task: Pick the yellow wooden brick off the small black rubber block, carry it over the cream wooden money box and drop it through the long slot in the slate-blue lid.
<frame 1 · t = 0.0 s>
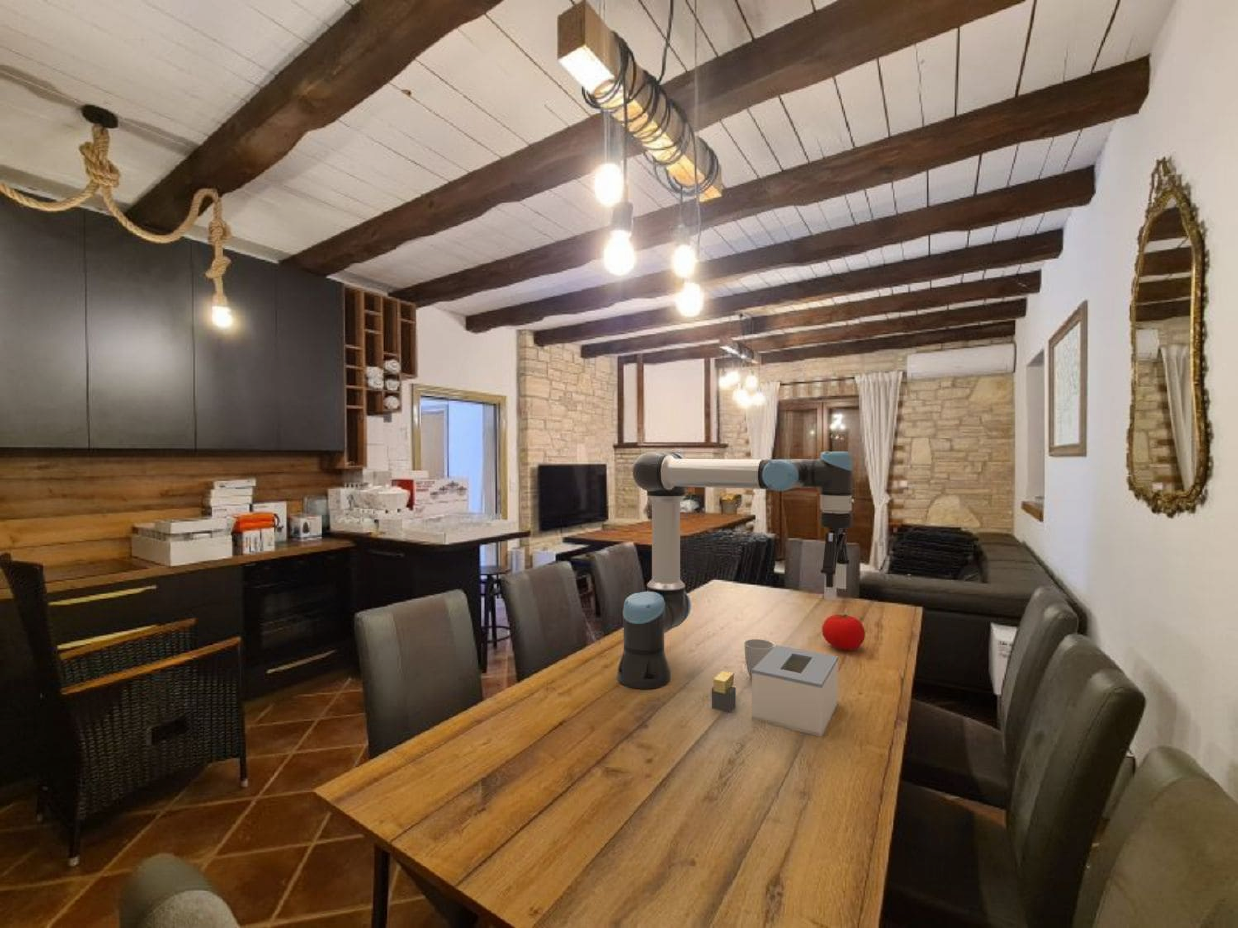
hand: (835, 593, 140), 28 cm above the table, fingers open, 13 cm apart
cup: (758, 679, 154), on the table
tomato: (843, 648, 179), on the table
block: (723, 707, 137), on the table
money box: (796, 710, 135), on the table
yellow wooden brick: (723, 687, 137), point 5 cm above the table, touching block
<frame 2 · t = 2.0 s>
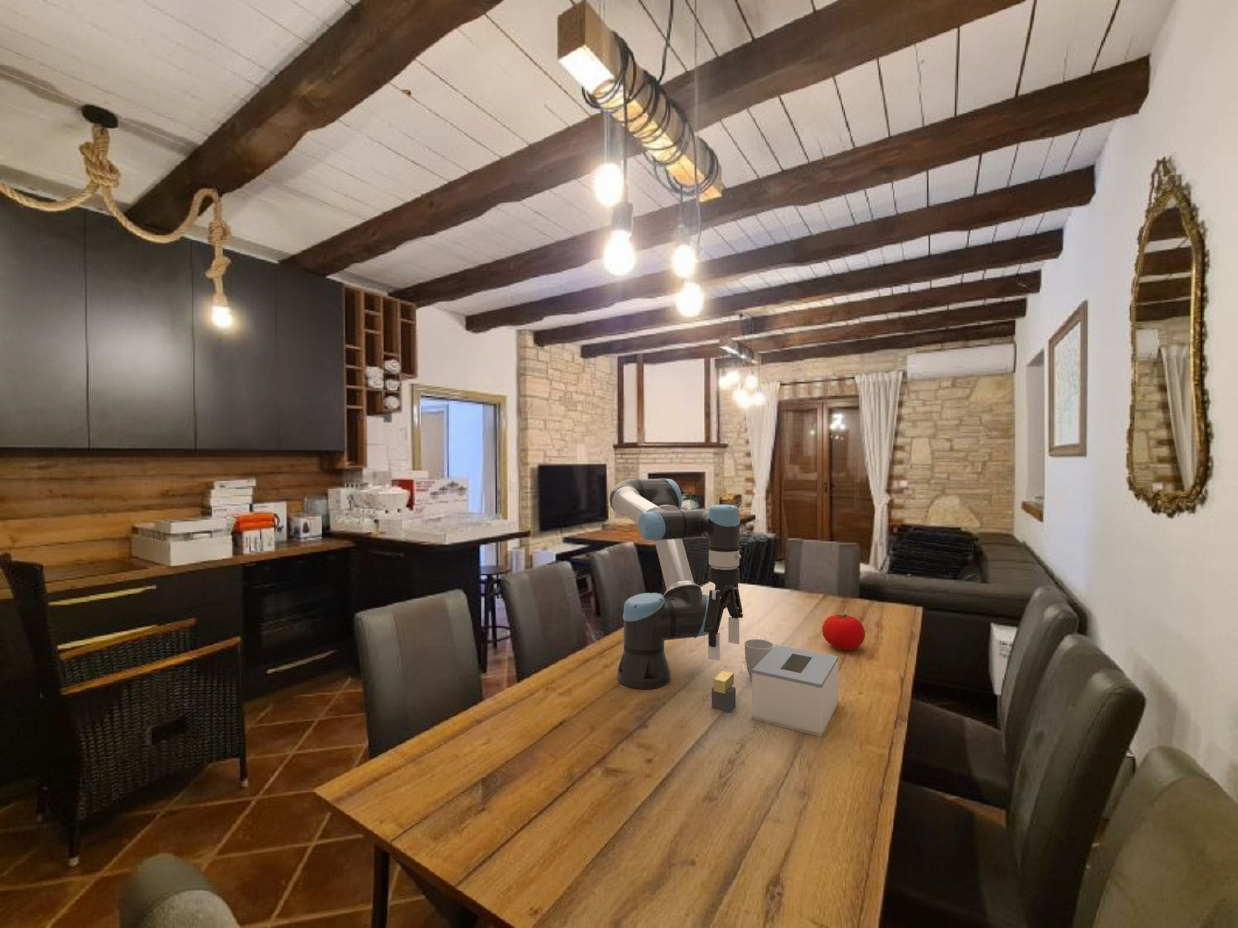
hand: (724, 650, 136), 14 cm above the table, fingers open, 13 cm apart
nothing on the table moved.
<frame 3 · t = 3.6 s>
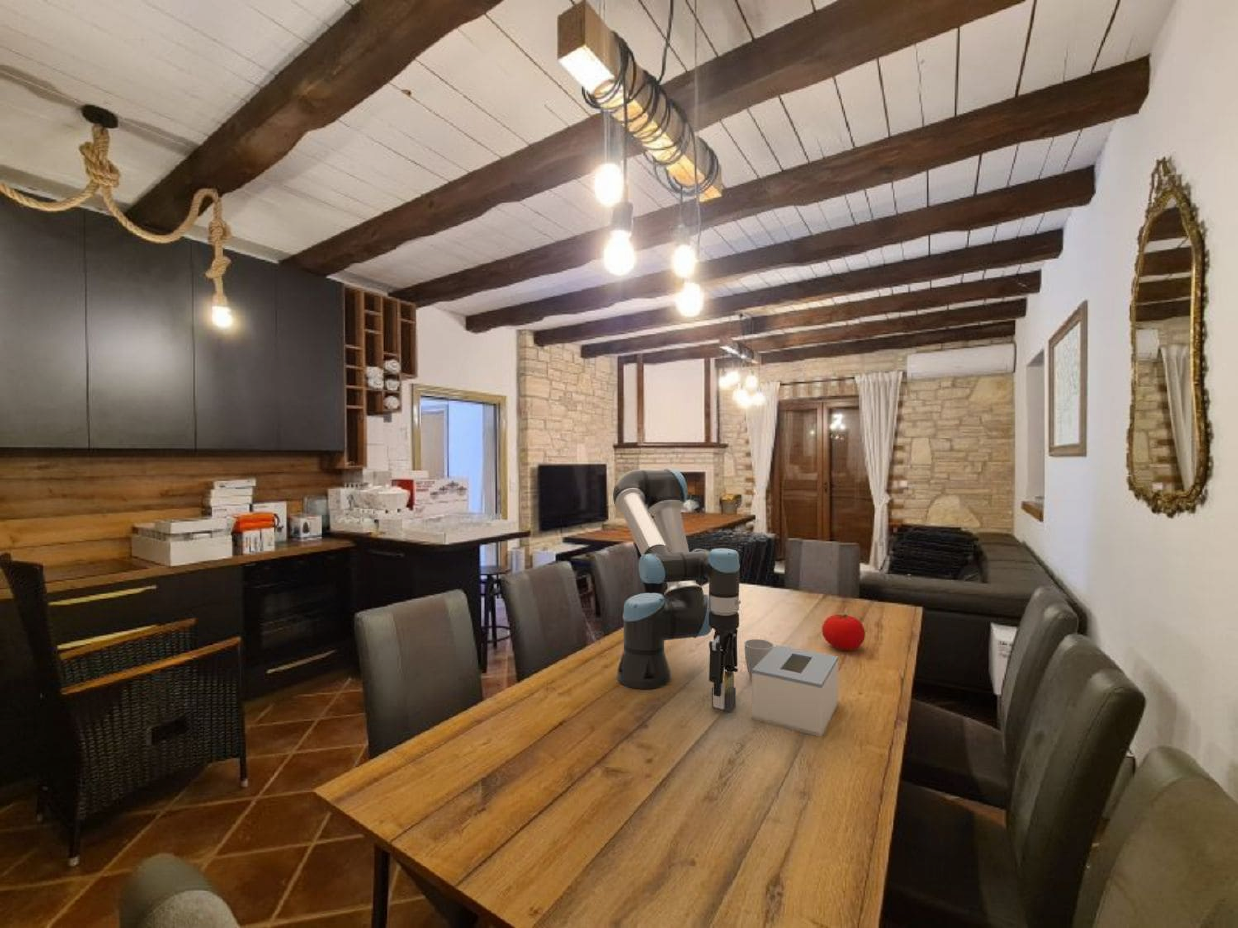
hand: (723, 701, 137), 1 cm above the table, fingers closed on yellow wooden brick, 6 cm apart
yellow wooden brick: (723, 687, 137), point 5 cm above the table, touching block, gripper
everything else where it was.
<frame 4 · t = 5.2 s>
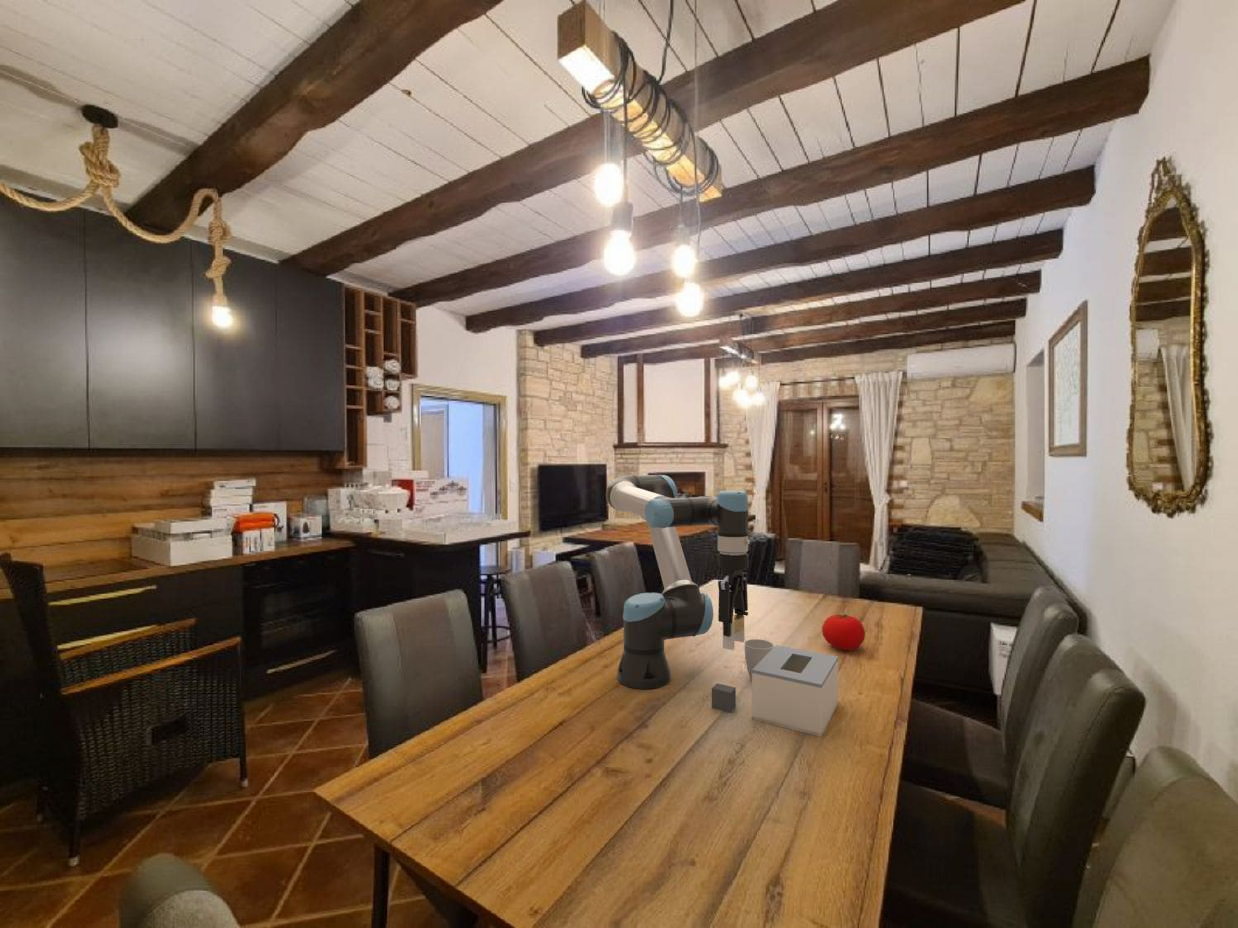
hand: (733, 644, 136), 16 cm above the table, fingers closed on yellow wooden brick, 6 cm apart
yellow wooden brick: (733, 630, 136), point 20 cm above the table, touching gripper
everything else where it was.
when the fingers open (12 cm above the table, at t = 7.0 s): yellow wooden brick drops 15 cm, resting on money box.
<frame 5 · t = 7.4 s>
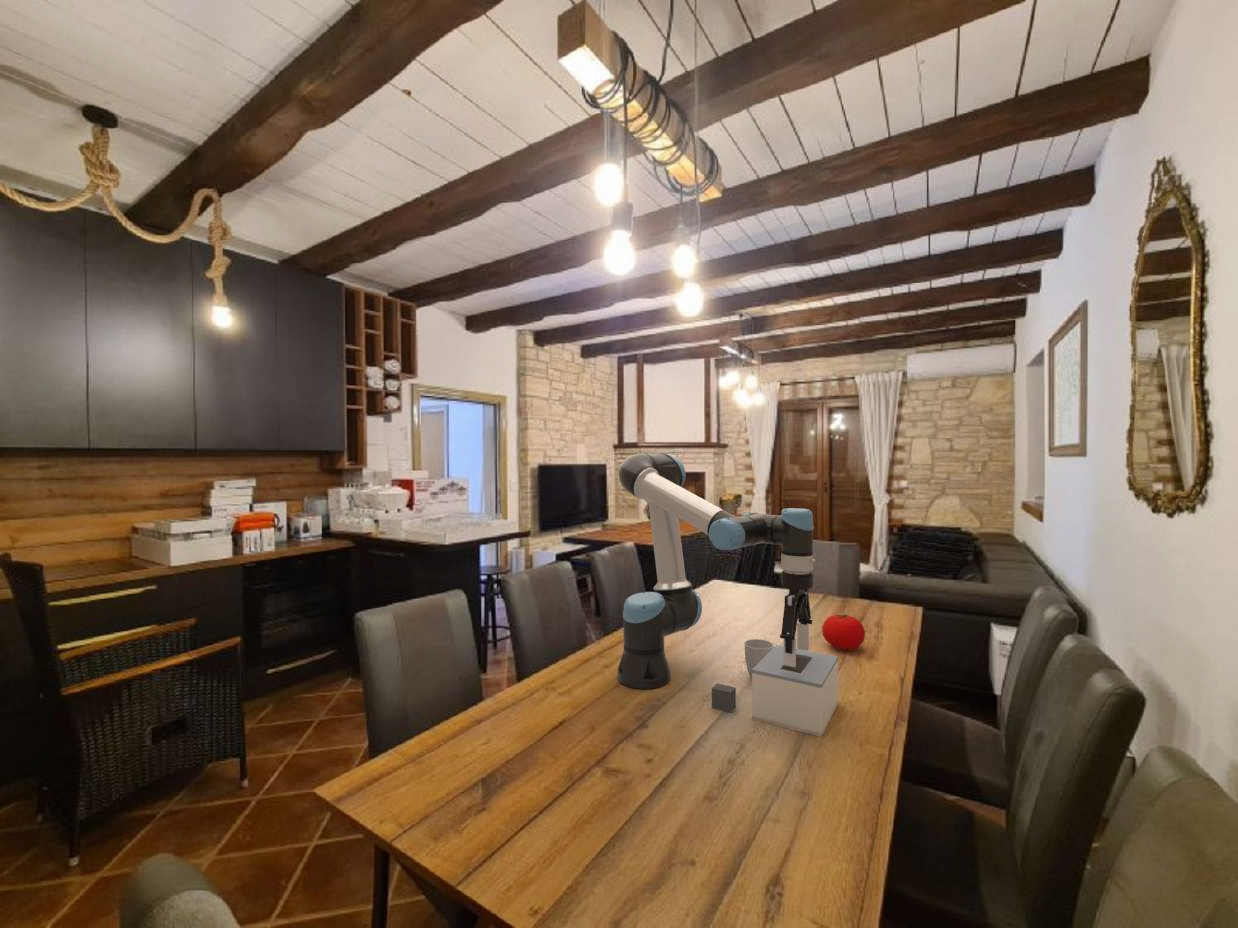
hand: (796, 657, 135), 13 cm above the table, fingers open, 12 cm apart
yellow wooden brick: (796, 707, 135), point 1 cm above the table, touching money box
everything else where it was.
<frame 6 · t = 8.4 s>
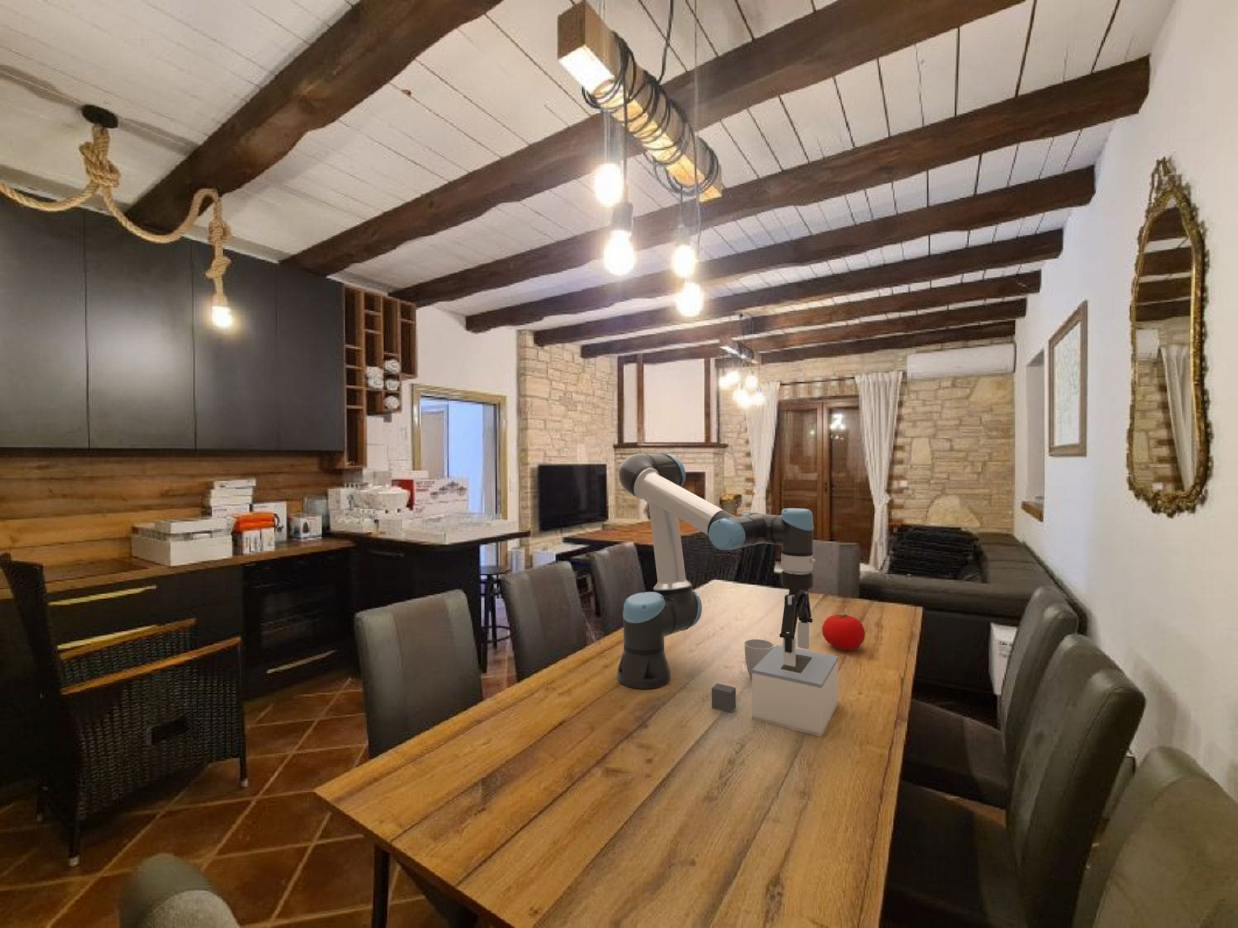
hand: (796, 656, 135), 14 cm above the table, fingers open, 13 cm apart
nothing on the table moved.
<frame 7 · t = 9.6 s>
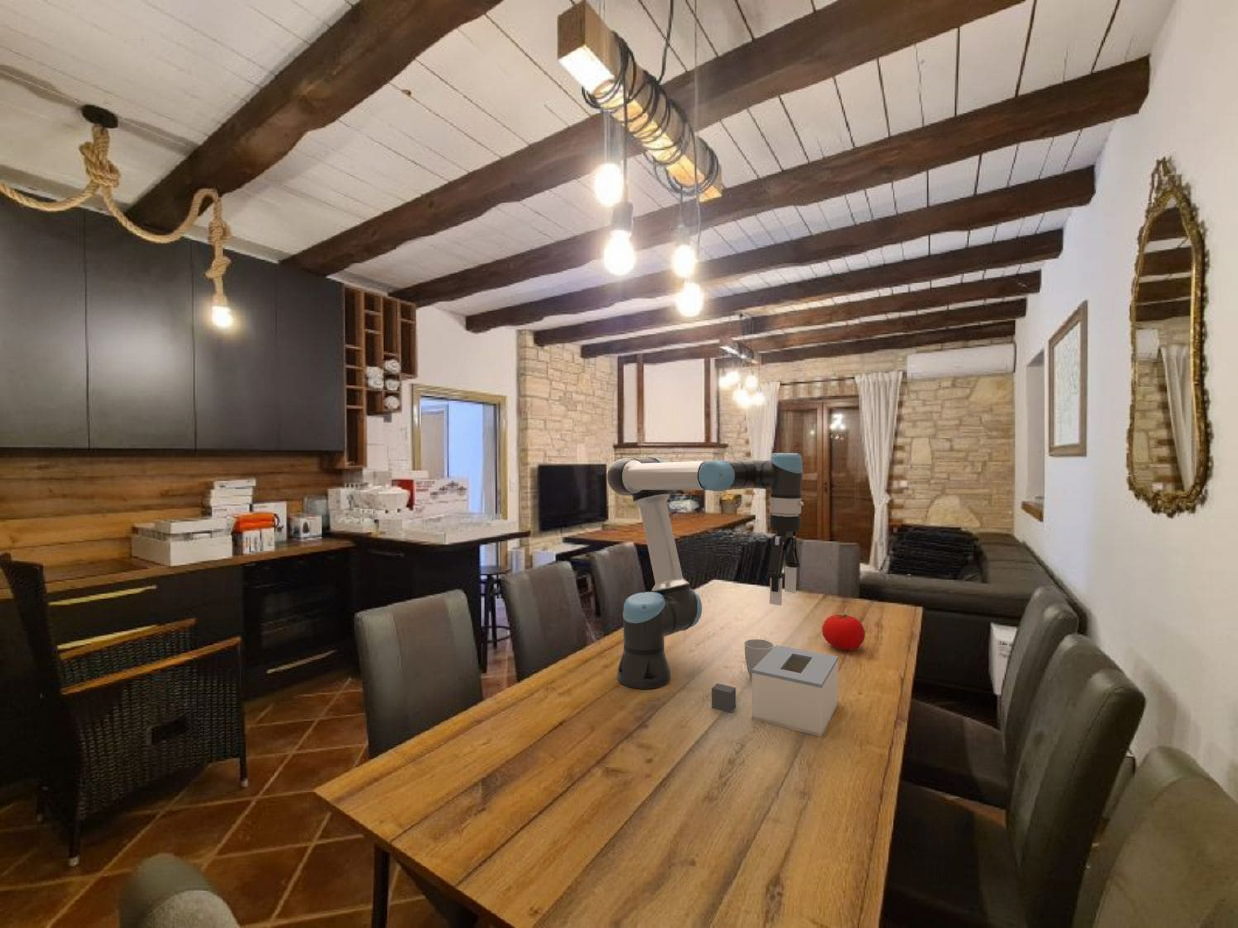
hand: (783, 597, 137), 28 cm above the table, fingers open, 13 cm apart
nothing on the table moved.
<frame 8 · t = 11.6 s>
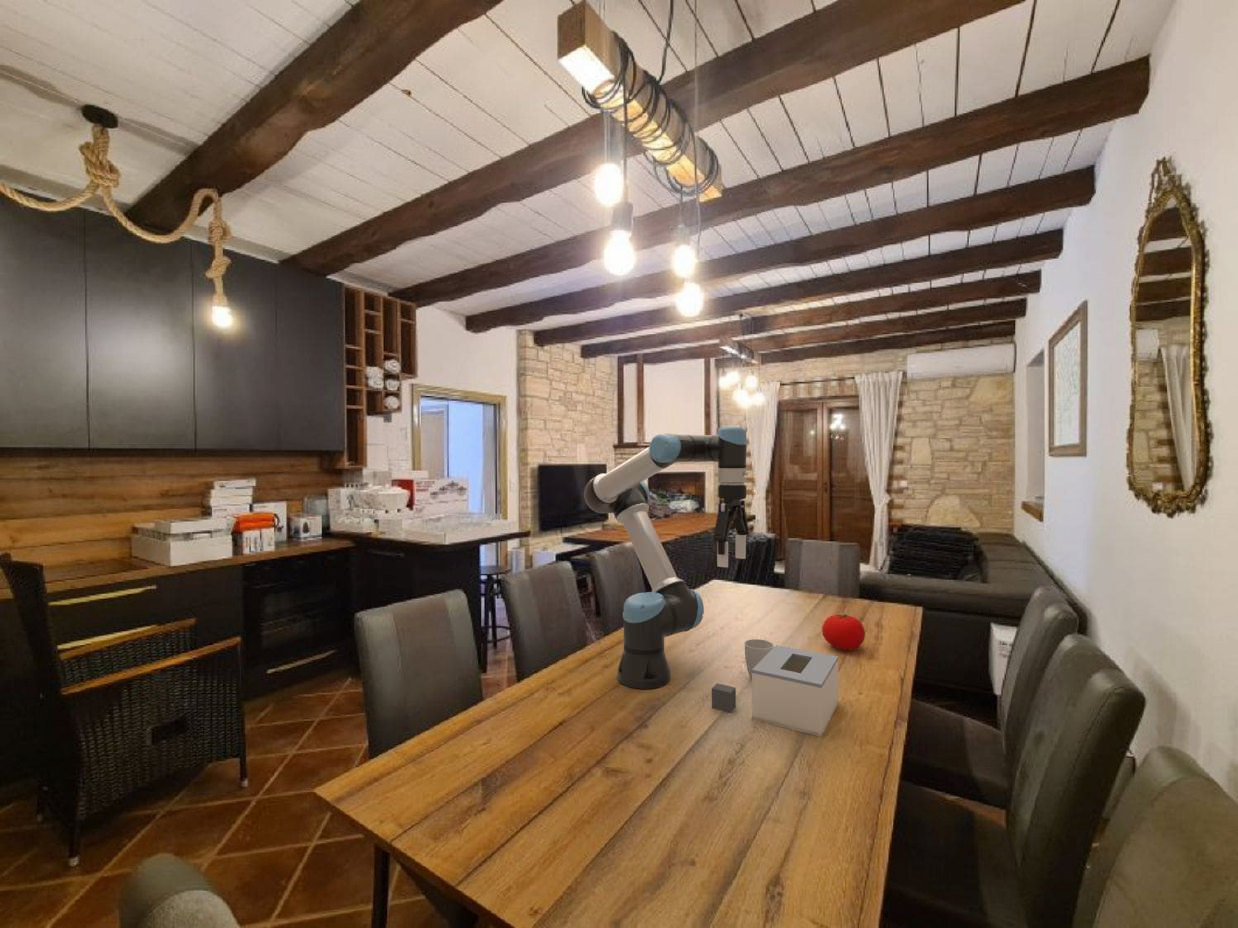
hand: (731, 562, 147), 35 cm above the table, fingers open, 13 cm apart
nothing on the table moved.
at the end: yellow wooden brick inside the target area on the money box (0.0 cm from its centre), point 0.8 cm above the money box's base; the gripper is holding nothing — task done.
